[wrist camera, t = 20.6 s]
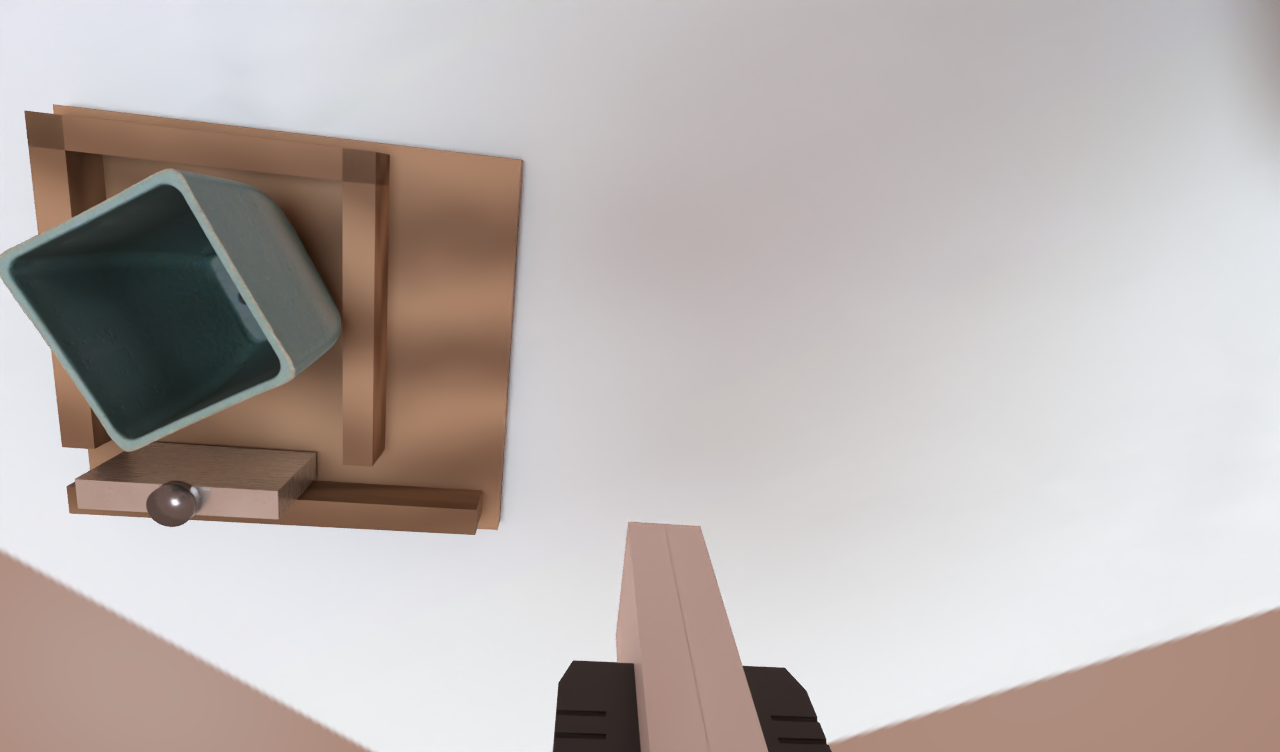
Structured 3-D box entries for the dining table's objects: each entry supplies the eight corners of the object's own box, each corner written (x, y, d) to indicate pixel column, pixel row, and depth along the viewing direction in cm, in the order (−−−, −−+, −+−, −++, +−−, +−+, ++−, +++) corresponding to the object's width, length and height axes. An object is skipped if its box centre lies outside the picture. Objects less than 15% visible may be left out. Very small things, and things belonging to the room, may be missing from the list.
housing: (71, 107, 33) (10, 97, 30) (522, 161, 36) (516, 157, 32) (108, 498, 38) (60, 529, 35) (499, 520, 41) (492, 551, 38)
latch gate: (140, 437, 36) (61, 481, 31) (315, 448, 37) (270, 493, 32) (143, 471, 37) (66, 521, 31) (316, 481, 38) (271, 531, 32)
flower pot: (391, 329, 35) (298, 378, 26) (251, 392, 36) (119, 457, 28) (304, 167, 33) (172, 162, 24) (159, 240, 34) (-14, 259, 26)
